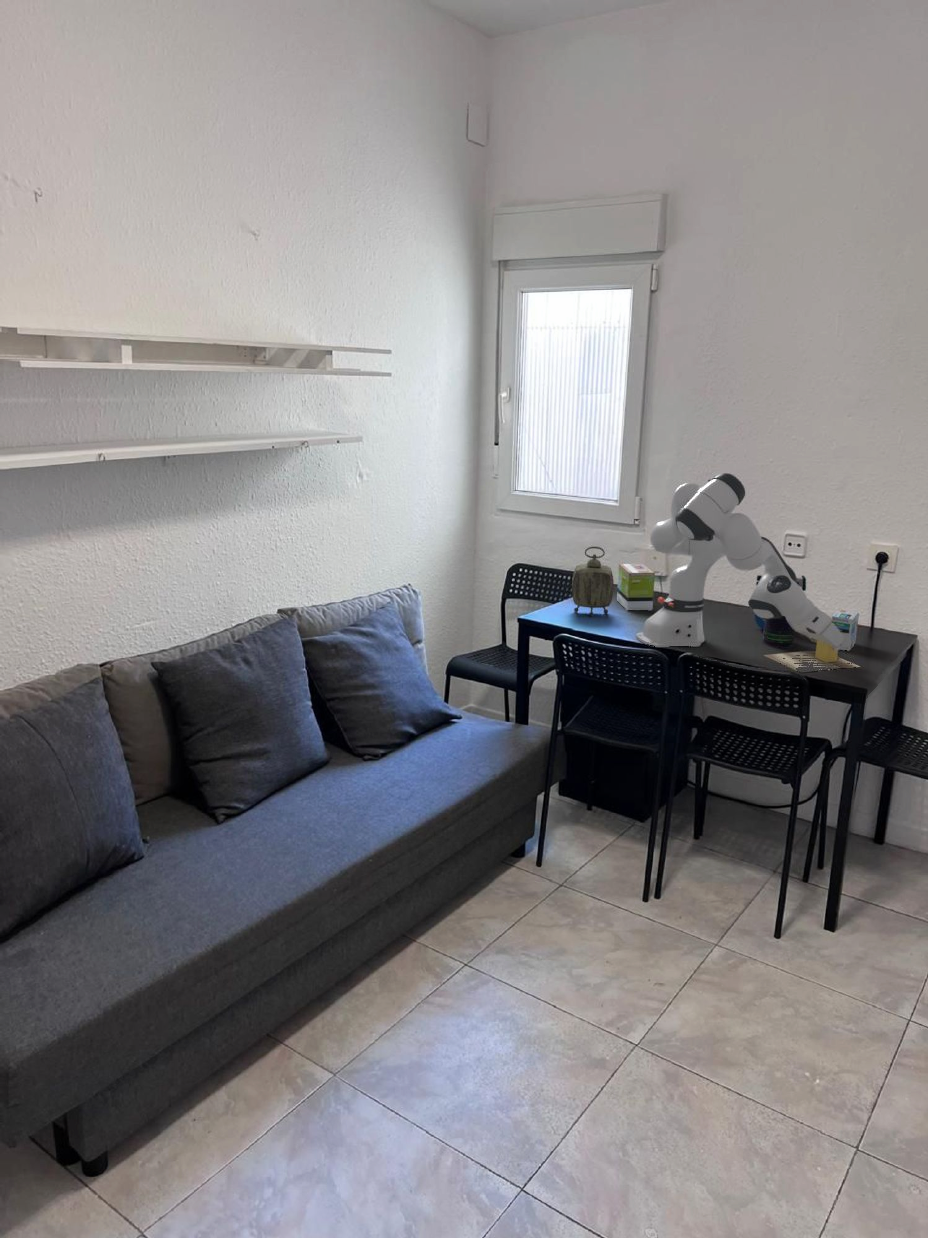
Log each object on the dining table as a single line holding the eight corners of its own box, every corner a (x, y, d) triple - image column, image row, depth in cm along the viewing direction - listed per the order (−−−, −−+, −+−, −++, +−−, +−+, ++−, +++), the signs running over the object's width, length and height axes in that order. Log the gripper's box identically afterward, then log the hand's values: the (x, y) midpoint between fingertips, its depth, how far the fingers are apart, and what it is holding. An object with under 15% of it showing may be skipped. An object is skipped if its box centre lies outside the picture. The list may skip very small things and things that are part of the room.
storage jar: (799, 646, 306) (805, 602, 302) (773, 648, 303) (778, 603, 299) (781, 638, 315) (786, 594, 311) (756, 640, 312) (760, 596, 308)
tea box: (615, 600, 359) (618, 563, 355) (641, 600, 360) (644, 563, 356) (626, 611, 345) (629, 571, 341) (653, 611, 346) (656, 571, 342)
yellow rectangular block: (825, 662, 290) (829, 633, 287) (815, 657, 294) (818, 628, 292) (836, 661, 291) (840, 632, 289) (825, 656, 296) (829, 627, 293)
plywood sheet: (800, 673, 279) (801, 673, 279) (763, 655, 295) (763, 655, 295) (860, 667, 286) (860, 666, 286) (820, 649, 303) (820, 649, 303)
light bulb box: (849, 651, 302) (853, 619, 299) (827, 648, 305) (831, 616, 302) (855, 643, 310) (859, 612, 308) (834, 640, 314) (838, 609, 311)
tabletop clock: (610, 612, 342) (615, 545, 335) (611, 619, 333) (616, 550, 326) (570, 610, 343) (574, 543, 336) (570, 617, 334) (574, 548, 328)
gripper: (775, 615, 294) (797, 642, 300) (820, 633, 276) (842, 662, 282) (788, 600, 295) (810, 628, 301) (834, 617, 276) (856, 646, 282)
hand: (826, 644), depth 291 cm, fingers open, 8 cm apart
